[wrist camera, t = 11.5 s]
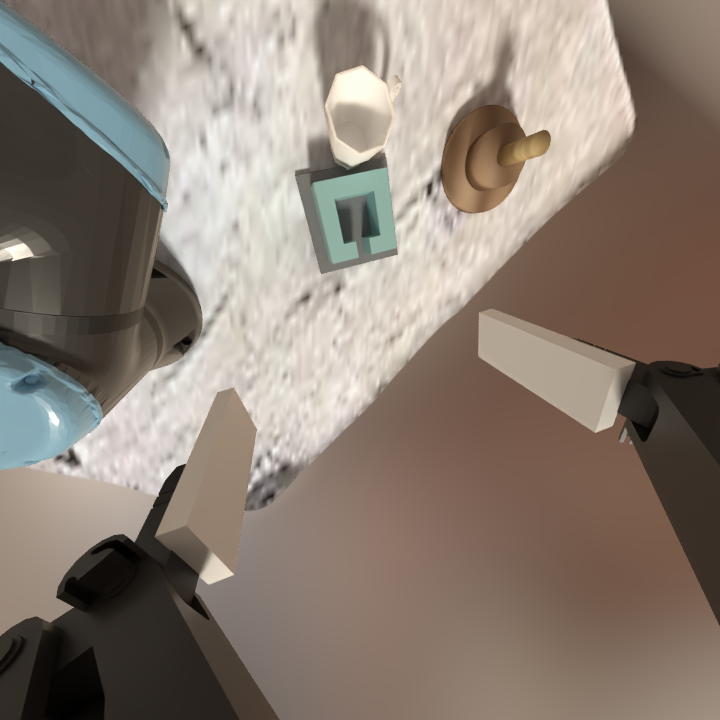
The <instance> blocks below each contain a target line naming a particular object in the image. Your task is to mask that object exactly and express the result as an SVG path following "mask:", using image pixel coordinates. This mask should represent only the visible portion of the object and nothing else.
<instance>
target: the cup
mask: <svg viewBox="0 0 720 720" xmlns="http://www.w3.org/2000/svg"><path fill="white" fill-rule="evenodd" d="M401 84H402V83H401V81H400V79H399V78H398V76H397V75H394V76H393V77H391V78H390V79H389V80H388V81H387V82H386V83H385V82H384V81H383V80H382V79H380V78H379V77H378V76H376V75H375V74H374V73H373V72H371V71H370V70H369V69H368V68H366V67H365V66H364V65H361V66H358V67H355V68H352V69H349V70H346V71H342V72H339V73H336V75H335V78H334V81H333V83H332V86H331V89H330V92H329V95H328V98H327V101H326V104H325V114H326V122H327V133H328V136H329V140H330V143H331V145H330V148H331V151H332V154H333V157H334V160H335V163H337V164H338V165H340V166H341V167H343V168H345V169H346V170H349V169H352V168H355V167H358V166H360V163H363V162H365V161H367V160H369V159H370V158H371V157H373V156H374V155H375V154H376V153H377V152H379V151H380V150H381V149H382V148H384V146H385V144H386V141H387V139H388V136H389V134H390V132H391V129H392V127H393V124H394V122H395V119H396V117H395V113H394V109H393V104H392V102H393V100H394V98H395V97H396V95H397V93H398V91H399V89H400V87H401Z"/></svg>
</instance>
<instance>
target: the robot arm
mask: <svg viewBox="0 0 720 720" xmlns="http://www.w3.org/2000/svg"><path fill="white" fill-rule="evenodd" d="M169 170H170V156H169V152H168V149H167V147H166V145H165V143H164V141H163V139H162V137H161V136H160V134H159V133H158V132H157V131H156V129H155V128H154V126H153V125H152V124H151V123H150V122H149V121H148V120H147V119H146V118H145V117H144V116H143V115H142V114H141V113H140V112H139V111H138V110H137V109H136V108H135V107H134V106H133V105H132V104H131V103H130V102H129V101H128V100H126V99H125V98H124V97H123V96H122V95H121V94H120V93H119V92H117V91H116V90H115V89H114V88H113V87H111V86H110V85H109V84H108V83H107V82H106V81H104V80H103V79H102V78H101V77H99V76H98V75H97V74H96V73H95V72H93V71H92V70H91V69H90V68H88V67H87V66H86V65H85V64H83V63H82V62H81V61H80V60H78V59H77V58H76V57H75V56H73V55H72V54H71V53H70V52H68V51H67V50H66V49H64V48H63V47H62V46H61V45H59V44H58V43H57V42H55V41H54V40H53V39H51V38H50V37H49V36H48V35H46V34H45V33H44V32H42V31H41V30H40V29H38V28H37V27H36V26H34V25H33V24H32V23H30V22H29V21H28V20H26V19H25V18H24V17H22V16H21V15H20V14H18V13H17V12H16V11H14V10H13V9H11V8H10V7H9V6H7V5H6V4H5V3H3V2H2V1H0V470H2V469H11V468H19V467H24V466H28V465H32V464H36V463H38V462H40V461H42V460H46V459H50V458H53V457H55V456H57V455H59V454H61V453H63V452H64V451H66V450H67V449H69V448H70V447H71V446H73V445H74V444H75V443H76V442H78V441H79V440H80V439H81V438H83V437H84V436H85V435H87V434H88V433H90V432H91V431H92V430H94V429H95V428H96V427H97V426H98V425H99V424H100V422H101V420H102V419H103V418H104V417H105V416H106V415H107V414H108V413H109V412H110V411H111V410H112V409H113V408H114V407H115V405H116V404H117V403H118V402H119V401H120V400H121V399H122V398H123V397H124V396H125V395H126V394H127V393H128V392H129V391H130V390H131V389H132V388H133V387H134V386H135V385H136V384H137V383H138V382H139V381H140V380H141V379H142V378H143V377H144V376H145V375H146V374H147V373H148V372H149V371H151V370H154V369H157V368H161V367H164V366H167V365H169V364H172V363H174V362H176V361H177V360H179V359H180V358H182V357H183V356H184V355H186V354H187V353H188V352H189V350H190V349H191V348H192V347H193V346H194V345H195V343H196V342H197V340H198V338H199V336H200V333H201V329H202V312H201V308H200V305H199V302H198V300H197V298H196V296H195V294H194V293H193V291H192V290H191V288H190V287H189V286H188V285H187V283H186V282H185V281H184V280H183V279H182V278H181V277H180V276H179V275H178V274H176V273H175V272H174V271H172V270H171V269H170V268H168V267H167V266H165V265H163V264H162V263H160V262H158V261H156V260H154V258H155V253H156V248H157V243H158V237H159V232H160V227H161V222H162V217H163V211H164V212H167V208H168V203H167V201H166V191H167V184H168V177H169ZM478 356H479V357H480V358H481V359H483V360H484V361H486V362H488V363H489V364H491V365H492V366H494V367H495V368H497V369H498V370H500V371H501V372H503V373H504V374H506V375H507V376H509V377H511V378H512V379H514V380H515V381H517V382H518V383H520V384H521V385H523V386H525V387H526V388H527V389H529V390H530V391H532V392H534V393H535V394H537V395H538V396H540V397H541V398H543V399H544V400H546V401H548V402H549V403H550V404H552V405H554V406H555V407H557V408H558V409H560V410H561V411H563V412H564V413H566V414H567V415H569V416H570V417H572V418H574V419H575V420H577V421H578V422H580V423H581V424H583V425H584V426H586V427H587V428H589V429H590V430H592V431H594V432H598V431H601V430H603V429H606V428H608V427H611V426H613V423H614V421H615V418H616V415H617V413H619V414H621V415H623V416H625V417H626V421H625V423H624V426H623V428H622V431H621V433H620V436H619V442H622V443H623V442H624V440H625V437H626V436H630V438H631V439H630V442H629V443H630V444H633V445H634V447H635V449H636V451H637V453H638V455H639V457H640V459H641V461H642V463H643V466H644V468H645V470H646V472H647V474H648V476H649V478H650V480H651V482H652V485H653V487H654V489H655V491H656V493H657V495H658V497H659V499H660V501H661V503H662V506H663V507H664V510H665V512H666V514H667V516H668V518H669V520H670V522H671V524H672V526H673V528H674V531H675V533H676V535H677V537H678V539H679V541H680V543H681V545H682V547H683V550H684V552H685V554H686V556H687V558H688V560H689V562H690V564H691V567H692V569H693V571H694V573H695V575H696V577H697V579H698V581H699V583H700V585H701V588H702V590H703V592H704V594H705V596H706V598H707V600H708V602H709V604H710V607H711V609H712V611H713V613H714V615H715V617H716V619H717V621H718V623H719V625H720V363H719V365H718V367H714V368H705V369H701V368H698V367H696V366H693V365H691V364H686V363H682V362H675V361H656V362H652V363H650V364H649V365H648V364H645V363H642V362H640V361H637V360H634V359H632V358H629V357H626V356H623V355H621V354H618V353H615V352H612V351H610V350H607V349H606V350H604V348H601V347H599V346H593V344H591V343H588V342H585V341H582V340H579V339H574V338H569V337H566V336H563V335H561V334H558V333H555V332H553V331H550V330H547V329H545V328H542V327H539V326H537V325H534V324H531V323H529V322H526V321H523V320H521V319H518V318H515V317H513V316H510V315H507V314H505V313H502V312H499V311H497V310H494V309H490V310H486V311H483V312H480V313H479V350H478ZM256 431H257V429H256V427H255V425H254V423H253V422H252V420H251V418H250V416H249V414H248V412H247V411H246V409H245V407H244V405H243V403H242V401H241V400H240V398H239V396H238V394H237V392H236V391H235V389H234V388H231V389H227V390H224V391H221V392H218V393H217V395H216V397H215V400H214V402H213V404H212V406H211V409H210V411H209V413H208V416H207V418H206V420H205V422H204V425H203V427H202V429H201V432H200V434H199V436H198V438H197V441H196V443H195V445H194V448H193V450H192V452H191V455H190V457H189V459H188V461H187V464H184V465H181V466H178V467H176V468H175V470H174V471H173V472H172V473H171V474H170V475H169V477H168V478H167V479H166V480H165V482H164V484H163V486H162V488H161V490H160V492H159V497H157V498H156V500H155V502H154V504H153V509H151V511H150V513H149V515H148V517H147V519H146V521H145V523H144V525H143V527H142V529H141V531H140V533H139V535H138V537H137V539H136V541H135V543H134V542H133V541H132V540H130V539H129V538H128V537H127V536H125V535H124V534H121V535H113V536H111V537H109V538H107V539H104V540H102V541H101V542H99V543H98V544H96V545H95V546H93V547H92V548H90V549H89V550H88V551H87V552H86V553H85V554H84V555H82V556H81V557H80V558H79V559H78V560H77V561H76V562H75V563H74V565H73V566H72V567H71V568H70V569H69V571H68V572H67V573H66V574H65V576H64V578H63V580H62V581H61V583H60V585H59V586H58V591H57V597H56V598H58V599H60V600H62V601H64V602H66V603H67V604H69V605H71V606H73V607H74V608H72V609H71V610H69V611H68V612H66V613H65V614H63V615H62V616H60V617H59V618H57V619H56V620H54V621H52V622H51V623H50V622H47V621H45V620H43V619H41V618H39V617H33V618H29V619H25V620H23V621H22V622H20V623H18V624H16V625H15V626H13V627H11V628H10V629H9V630H7V631H6V632H5V633H4V634H2V635H1V636H0V720H279V718H278V717H277V715H276V714H275V712H274V710H273V709H272V707H271V706H270V704H269V703H268V701H267V700H266V698H265V696H264V695H263V693H262V692H261V690H260V689H259V687H258V686H257V684H256V683H255V681H254V679H253V678H252V676H251V675H250V673H249V672H248V670H247V669H246V667H245V665H244V664H243V662H242V661H241V659H240V658H239V656H238V655H237V653H236V651H235V650H234V648H233V647H232V645H231V644H230V642H229V641H228V639H227V638H226V636H225V634H224V633H223V631H222V630H221V628H220V627H219V625H218V624H217V622H216V621H215V619H214V617H213V616H212V614H211V613H210V611H209V610H208V608H207V607H206V605H205V604H204V602H203V601H202V599H201V597H200V596H199V595H198V594H197V593H195V589H196V585H197V581H198V577H200V578H202V579H203V580H204V581H205V582H206V583H207V584H212V583H214V582H217V581H219V580H222V579H224V578H227V577H229V576H231V575H234V573H235V566H236V560H237V553H238V547H239V540H240V533H241V528H242V521H243V514H244V508H245V502H246V496H247V489H248V483H249V476H250V470H251V463H252V457H253V451H254V444H255V438H256Z"/></svg>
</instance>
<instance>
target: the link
mask: <svg viewBox="0 0 720 720" xmlns="http://www.w3.org/2000/svg"><path fill="white" fill-rule="evenodd" d="M311 192H312V196H313V200H314V204H315V208H316V212H317V216H318V220H319V224H320V228H321V232H322V236H323V240H324V244H325V248H326V253H327V257H328V261H329V262H331V263H332V264H335V263H339V262H343V261H347V260H351V259H355V258H359V255H358V250H357V245H356V241H345V242H343V237H342V233H341V228H340V223H339V218H338V214H337V209H336V204H335V201H339V200H344V199H348V198H353V197H357V196H362V195H366V201H367V208H368V214H369V220H370V226H371V232H372V235H370V236H366V237H362V244H363V249H364V252H365V253H369V254H375V253H379V252H383V251H387V250H391V249H395V248H397V245H396V237H395V229H394V220H393V212H392V204H391V195H390V187H389V179H388V171H387V167H386V168H381V169H376V170H371V171H367V172H362V173H357V174H352V175H347V176H343V177H338V178H333V179H328V180H324V181H319V182H314V183H313V184H312V186H311Z"/></svg>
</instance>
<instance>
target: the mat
mask: <svg viewBox="0 0 720 720" xmlns="http://www.w3.org/2000/svg"><path fill="white" fill-rule="evenodd" d="M386 167H387V161H386V157H385V158H380V159H375V160H370V161H365V162H363V163H360V166H358V167H355V168H352V169H349V170H346V169H345V168H343V167H336V168H331V169H326V170H321V171H316V172H311V173H306V174H302V175H297V176H295V177H296V181H297V184H298V188H299V192H300V196H301V200H302V203H303V207H304V211H305V215H306V218H307V222H308V226H309V230H310V233H311V237H312V241H313V245H314V249H315V252H316V256H317V260H318V264H319V267H320V271H321V274H323V273H327V272H331V271H335V270H339V269H343V268H347V267H351V266H354V265H358V264H362V263H366V262H370V261H374V260H378V259H382V258H386V257H390V256H394V255H398V252H397V248H395V249H391V250H387V251H383V252H379V253H375V254H369V253H365V252H364V249H363V244H362V237H366V236H370V235H372V232H371V226H370V220H369V214H368V208H367V201H366V195H362V196H357V197H353V198H348V199H344V200H339V201H335V204H336V209H337V214H338V218H339V223H340V228H341V233H342V237H343V242H345V241H356V245H357V250H358V255H359V258H355V259H351V260H347V261H343V262H339V263H335V264H332V263H331V262H329V261H328V257H327V253H326V248H325V244H324V240H323V236H322V232H321V228H320V224H319V220H318V216H317V212H316V208H315V204H314V200H313V196H312V192H311V186H312V184H313V183H314V182H319V181H324V180H328V179H333V178H338V177H343V176H347V175H352V174H357V173H362V172H367V171H371V170H376V169H381V168H386ZM387 171H388V169H387ZM388 179H389V178H388ZM389 187H390V186H389ZM390 195H391V194H390ZM391 204H392V202H391ZM392 212H393V211H392ZM393 220H394V219H393ZM394 229H395V227H394ZM395 237H396V236H395ZM396 245H397V244H396Z"/></svg>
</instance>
